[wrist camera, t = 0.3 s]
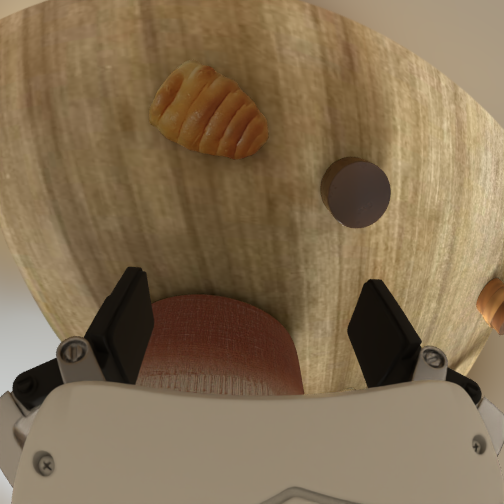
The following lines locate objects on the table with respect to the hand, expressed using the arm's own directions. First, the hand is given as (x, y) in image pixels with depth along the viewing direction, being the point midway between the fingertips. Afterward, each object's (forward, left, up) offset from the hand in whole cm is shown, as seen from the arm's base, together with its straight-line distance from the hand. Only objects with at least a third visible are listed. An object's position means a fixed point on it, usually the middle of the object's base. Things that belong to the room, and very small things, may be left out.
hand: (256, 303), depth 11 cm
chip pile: (+31, +29, -14) cm, 45 cm away
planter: (+15, -14, -14) cm, 25 cm away
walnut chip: (+3, +9, -14) cm, 17 cm away
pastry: (-9, +1, -14) cm, 17 cm away
